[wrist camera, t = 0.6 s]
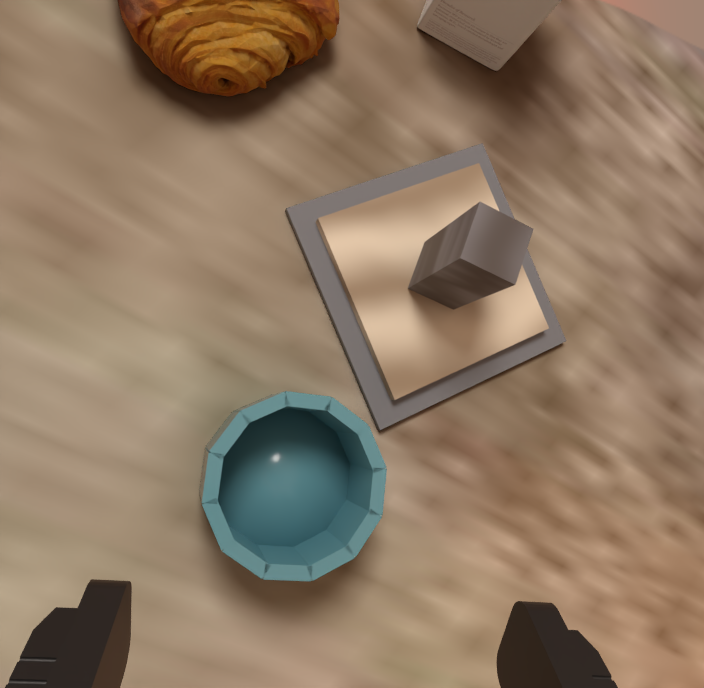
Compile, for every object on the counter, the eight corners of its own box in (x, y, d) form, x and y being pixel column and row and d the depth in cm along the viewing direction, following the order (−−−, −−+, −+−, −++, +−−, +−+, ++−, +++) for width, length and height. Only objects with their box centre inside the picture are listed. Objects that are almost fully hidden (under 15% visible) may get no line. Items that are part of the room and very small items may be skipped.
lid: (315, 221, 40) (350, 169, 31) (473, 167, 43) (543, 107, 35) (390, 400, 40) (446, 395, 31) (542, 329, 43) (628, 308, 35)
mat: (285, 210, 40) (286, 208, 39) (479, 146, 44) (482, 143, 44) (377, 429, 40) (380, 430, 39) (562, 341, 44) (566, 341, 44)
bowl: (175, 435, 36) (174, 439, 31) (322, 373, 39) (343, 366, 34) (239, 586, 36) (248, 615, 31) (381, 512, 39) (411, 526, 34)
